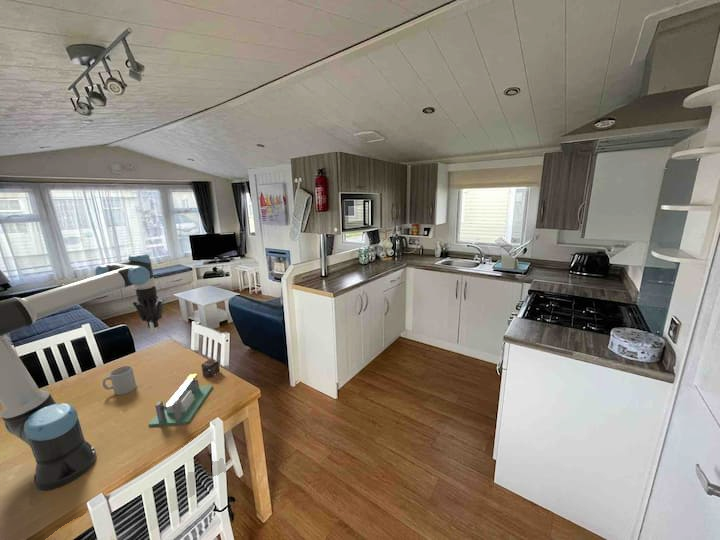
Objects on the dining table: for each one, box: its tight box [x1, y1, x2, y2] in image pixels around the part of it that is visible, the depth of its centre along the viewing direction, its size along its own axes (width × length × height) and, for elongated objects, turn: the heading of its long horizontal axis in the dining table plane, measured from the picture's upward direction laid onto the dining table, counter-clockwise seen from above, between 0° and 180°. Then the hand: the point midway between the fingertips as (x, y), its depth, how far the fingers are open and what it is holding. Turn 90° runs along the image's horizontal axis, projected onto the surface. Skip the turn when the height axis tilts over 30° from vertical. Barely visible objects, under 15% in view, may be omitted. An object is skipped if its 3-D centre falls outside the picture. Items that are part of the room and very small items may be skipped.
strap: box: [161, 373, 198, 410], centre depth 127 cm, size 22×5×2 cm, turn 4°
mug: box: [102, 365, 137, 396], centre depth 138 cm, size 12×8×11 cm
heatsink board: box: [147, 379, 214, 427], centre depth 128 cm, size 24×16×10 cm, turn 4°
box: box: [201, 358, 221, 378], centre depth 151 cm, size 6×6×7 cm
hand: (154, 333), depth 134 cm, fingers closed
